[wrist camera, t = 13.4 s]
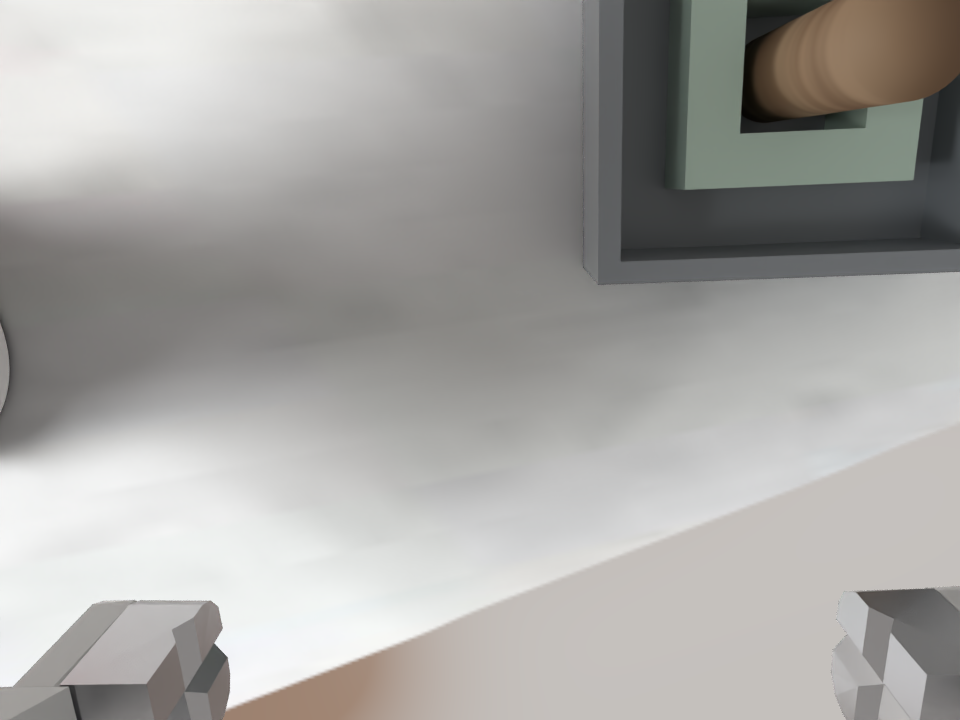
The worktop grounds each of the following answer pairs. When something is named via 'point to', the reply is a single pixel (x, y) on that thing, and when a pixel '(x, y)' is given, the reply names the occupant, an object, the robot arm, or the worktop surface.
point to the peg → (851, 58)
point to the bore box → (749, 159)
